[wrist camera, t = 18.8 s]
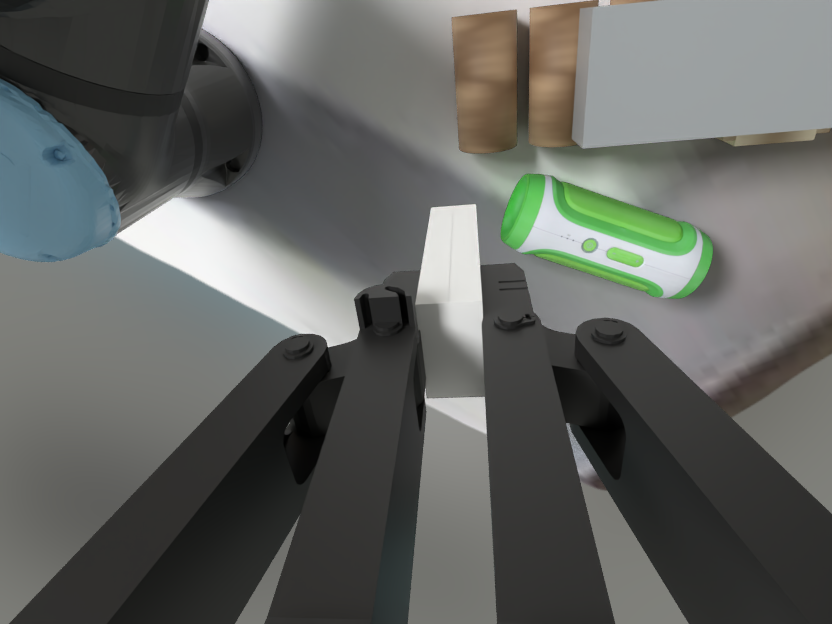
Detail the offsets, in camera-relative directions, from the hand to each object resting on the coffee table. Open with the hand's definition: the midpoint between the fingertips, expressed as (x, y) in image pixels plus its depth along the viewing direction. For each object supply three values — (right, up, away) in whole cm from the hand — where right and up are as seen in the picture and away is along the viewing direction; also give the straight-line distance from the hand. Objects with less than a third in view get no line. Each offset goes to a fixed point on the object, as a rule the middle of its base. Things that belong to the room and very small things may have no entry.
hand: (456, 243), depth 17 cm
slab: (+20, +16, +20) cm, 32 cm away
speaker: (+16, +7, +32) cm, 36 cm away
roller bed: (+11, +18, +25) cm, 33 cm away
